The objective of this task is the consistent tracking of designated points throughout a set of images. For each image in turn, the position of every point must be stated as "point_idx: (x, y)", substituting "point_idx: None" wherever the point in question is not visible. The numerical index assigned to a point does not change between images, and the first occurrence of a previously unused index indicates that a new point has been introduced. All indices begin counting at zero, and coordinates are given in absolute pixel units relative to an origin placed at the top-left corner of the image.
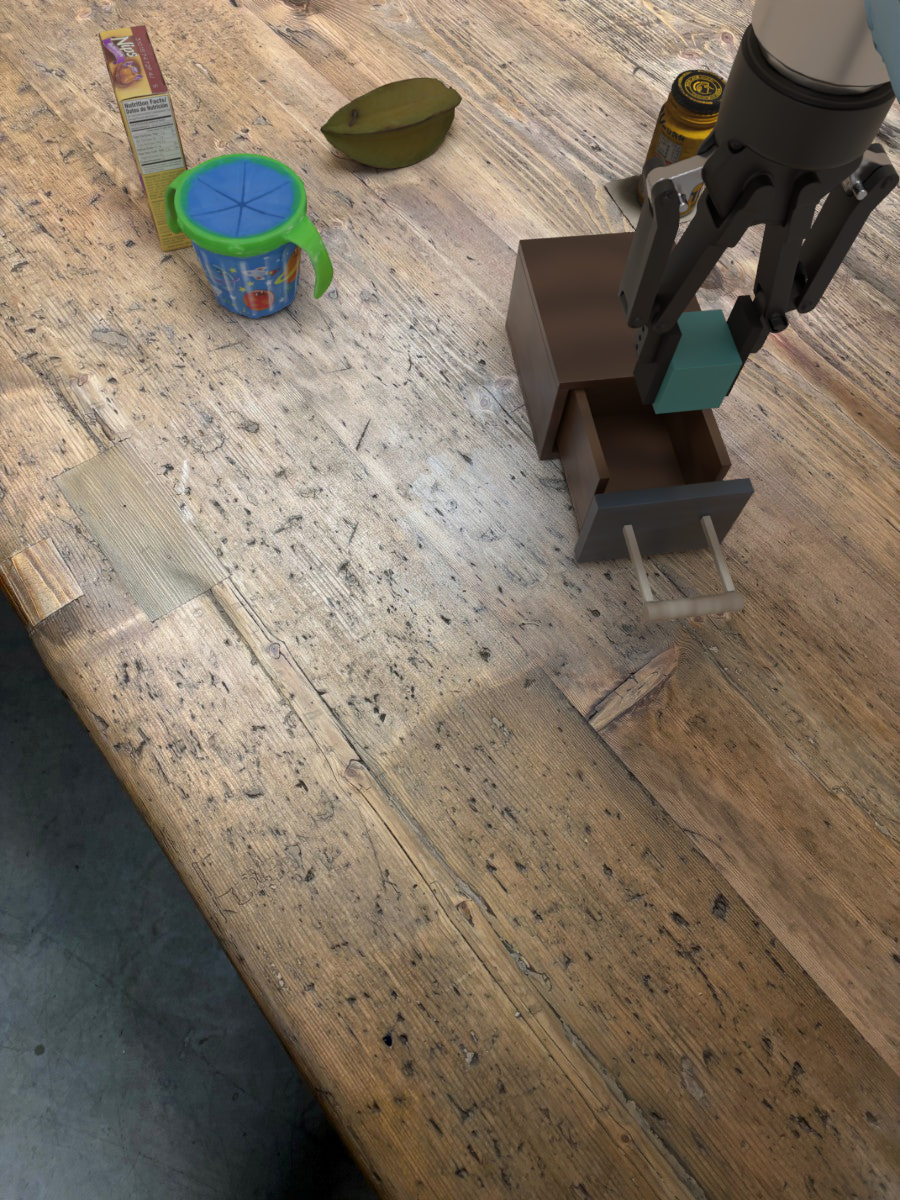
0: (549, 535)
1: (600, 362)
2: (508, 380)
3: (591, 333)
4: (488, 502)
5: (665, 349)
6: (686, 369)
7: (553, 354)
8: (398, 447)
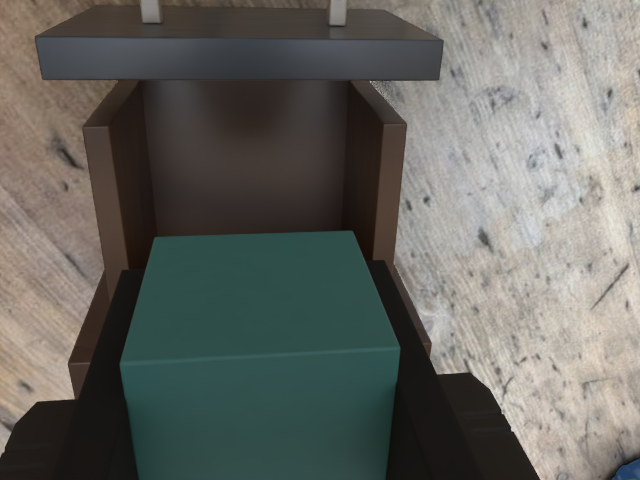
0: (402, 85)
1: None
2: None
3: None
4: (479, 160)
5: (457, 425)
6: (352, 346)
7: None
8: (572, 264)
